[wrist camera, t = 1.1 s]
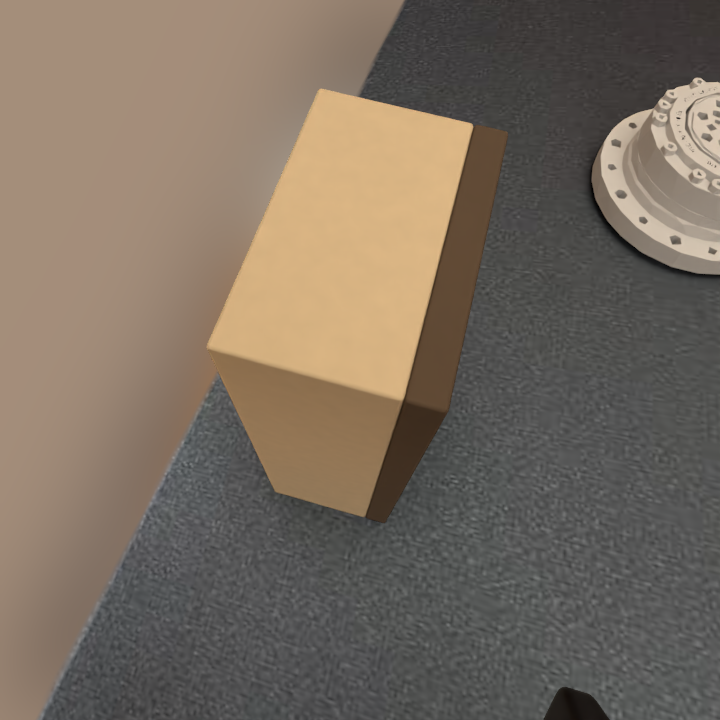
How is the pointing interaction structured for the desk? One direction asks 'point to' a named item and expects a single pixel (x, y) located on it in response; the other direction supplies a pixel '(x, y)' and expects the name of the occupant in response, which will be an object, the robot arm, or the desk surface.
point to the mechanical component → (666, 178)
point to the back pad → (358, 299)
